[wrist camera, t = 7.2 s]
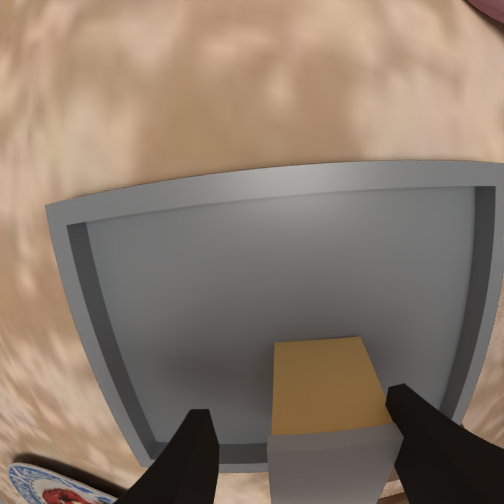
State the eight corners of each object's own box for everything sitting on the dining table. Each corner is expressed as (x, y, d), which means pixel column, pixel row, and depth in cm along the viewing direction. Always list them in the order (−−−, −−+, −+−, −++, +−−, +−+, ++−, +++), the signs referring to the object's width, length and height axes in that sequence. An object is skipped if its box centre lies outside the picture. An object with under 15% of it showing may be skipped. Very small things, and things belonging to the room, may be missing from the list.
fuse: (362, 334, 14) (404, 437, 7) (352, 412, 15) (373, 508, 9) (272, 340, 14) (266, 451, 8) (276, 417, 15) (272, 518, 9)
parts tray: (481, 161, 12) (509, 163, 10) (444, 412, 16) (456, 432, 14) (71, 198, 13) (44, 205, 11) (149, 443, 17) (141, 466, 15)
